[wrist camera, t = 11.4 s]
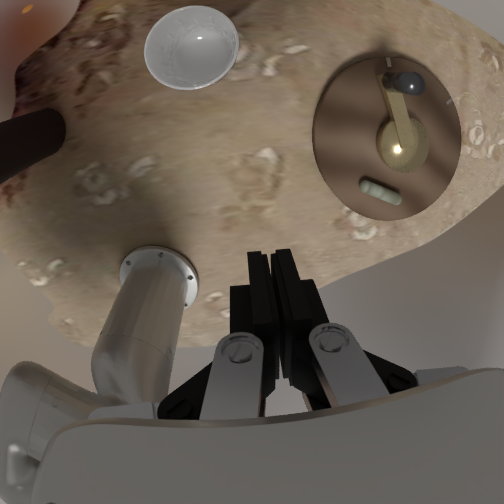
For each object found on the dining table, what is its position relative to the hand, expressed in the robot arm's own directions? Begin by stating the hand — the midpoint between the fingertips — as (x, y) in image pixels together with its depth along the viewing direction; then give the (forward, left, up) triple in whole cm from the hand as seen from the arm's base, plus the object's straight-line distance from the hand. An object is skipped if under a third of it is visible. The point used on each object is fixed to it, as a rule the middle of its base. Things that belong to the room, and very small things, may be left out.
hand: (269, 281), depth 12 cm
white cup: (+9, +8, -25) cm, 28 cm away
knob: (+10, -15, -23) cm, 29 cm away
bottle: (-3, +28, -25) cm, 38 cm away
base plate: (+7, -17, -25) cm, 31 cm away
